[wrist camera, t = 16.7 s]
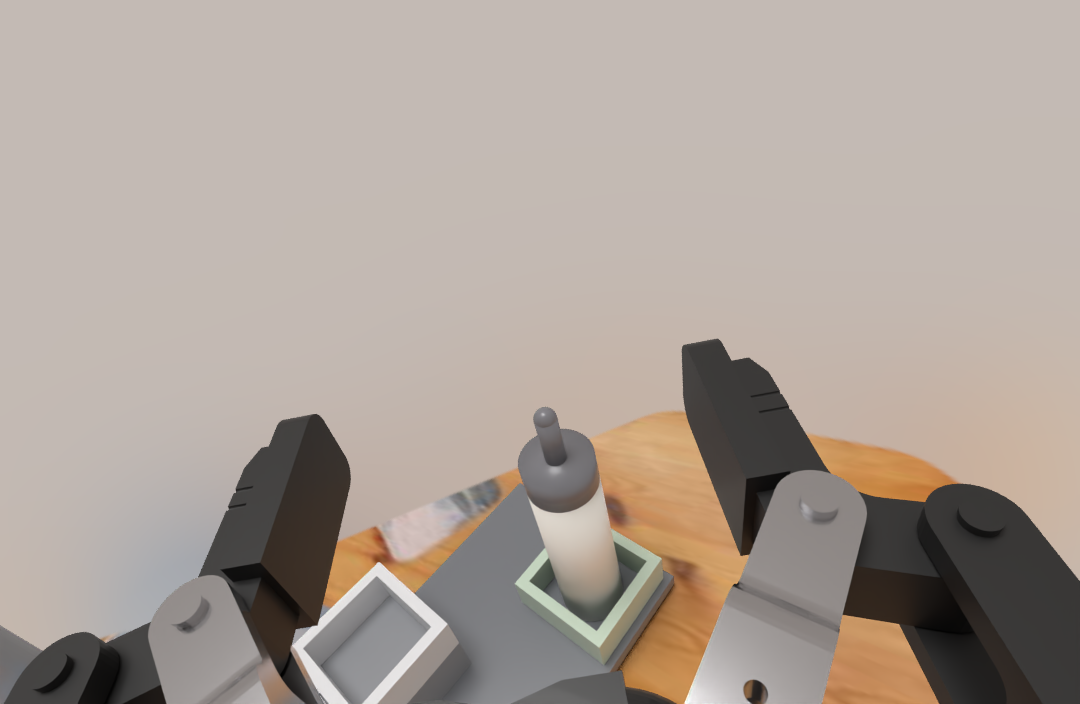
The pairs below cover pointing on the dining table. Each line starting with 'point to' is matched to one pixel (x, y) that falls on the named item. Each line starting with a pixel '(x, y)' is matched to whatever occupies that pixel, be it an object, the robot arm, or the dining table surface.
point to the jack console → (477, 623)
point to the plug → (572, 516)
